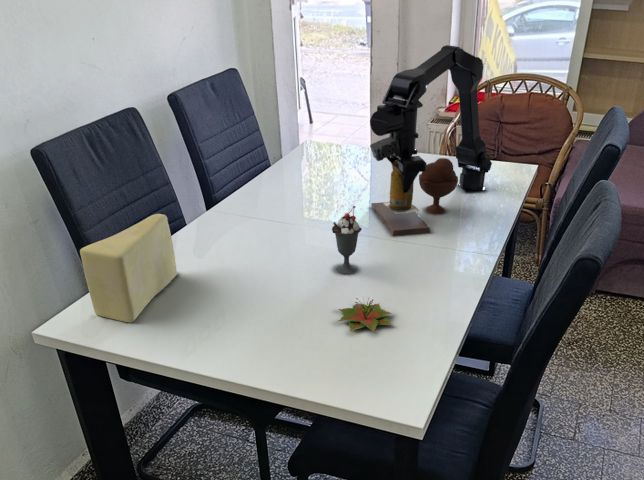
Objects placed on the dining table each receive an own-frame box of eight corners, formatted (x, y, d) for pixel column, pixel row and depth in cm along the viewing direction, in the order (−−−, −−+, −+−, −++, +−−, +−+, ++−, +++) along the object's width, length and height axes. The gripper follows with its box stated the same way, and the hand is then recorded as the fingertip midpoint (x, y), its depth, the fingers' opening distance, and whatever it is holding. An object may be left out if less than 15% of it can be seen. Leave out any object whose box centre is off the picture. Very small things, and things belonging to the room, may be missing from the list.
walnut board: (404, 205, 186) (405, 200, 185) (429, 232, 170) (430, 227, 169) (371, 208, 183) (371, 203, 183) (393, 236, 167) (393, 230, 166)
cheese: (156, 270, 149) (146, 207, 140) (193, 277, 146) (185, 214, 138) (91, 315, 131) (76, 247, 123) (132, 325, 128) (118, 255, 120)
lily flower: (403, 330, 128) (404, 310, 126) (344, 339, 125) (345, 318, 123) (383, 302, 138) (384, 282, 136) (328, 309, 135) (328, 289, 133)
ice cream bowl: (453, 204, 187) (459, 152, 179) (455, 219, 178) (460, 164, 169) (416, 202, 188) (420, 150, 180) (416, 217, 178) (420, 162, 170)
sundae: (364, 265, 152) (366, 204, 144) (355, 277, 147) (356, 215, 139) (338, 261, 154) (338, 200, 146) (328, 273, 149) (327, 210, 141)
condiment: (407, 200, 178) (409, 156, 171) (420, 211, 171) (424, 166, 165) (382, 203, 176) (384, 159, 169) (395, 214, 169) (397, 169, 163)
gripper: (363, 120, 169) (362, 179, 177) (385, 140, 154) (382, 203, 162) (404, 117, 171) (401, 176, 180) (429, 137, 156) (424, 199, 165)
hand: (401, 188), depth 172 cm, fingers closed on condiment, 6 cm apart
